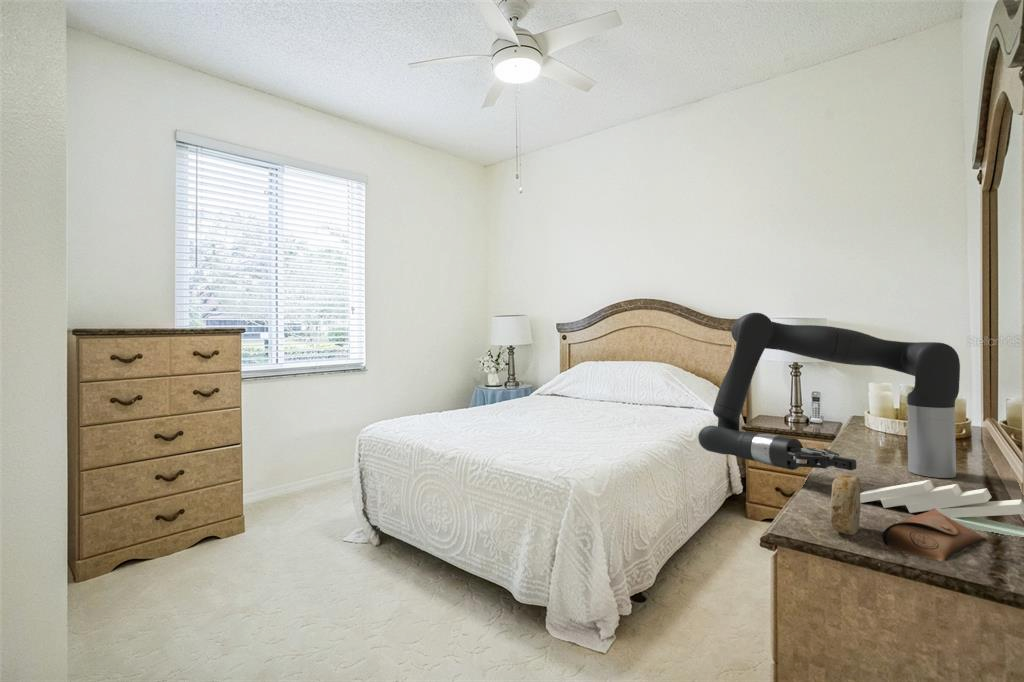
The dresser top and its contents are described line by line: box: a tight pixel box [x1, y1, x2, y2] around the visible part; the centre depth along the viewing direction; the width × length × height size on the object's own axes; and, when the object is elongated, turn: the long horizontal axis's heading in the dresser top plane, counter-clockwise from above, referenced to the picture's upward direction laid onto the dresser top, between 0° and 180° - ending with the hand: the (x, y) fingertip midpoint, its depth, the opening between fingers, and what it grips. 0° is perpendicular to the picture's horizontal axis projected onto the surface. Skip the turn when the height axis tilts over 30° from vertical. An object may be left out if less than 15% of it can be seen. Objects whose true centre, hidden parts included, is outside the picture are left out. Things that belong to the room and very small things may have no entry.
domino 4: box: [937, 499, 1024, 518], centre depth 91 cm, size 2×5×12 cm
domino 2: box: [880, 483, 963, 509], centre depth 97 cm, size 2×5×12 cm
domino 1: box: [860, 479, 935, 504], centre depth 100 cm, size 2×5×12 cm
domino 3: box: [905, 488, 992, 514], centre depth 94 cm, size 2×5×12 cm
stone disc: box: [829, 474, 862, 536], centre depth 88 cm, size 10×4×10 cm, turn 135°
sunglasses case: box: [881, 508, 986, 562], centre depth 84 cm, size 18×7×7 cm
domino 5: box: [950, 516, 1024, 537], centre depth 87 cm, size 2×5×12 cm
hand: (854, 465), depth 106 cm, fingers closed
